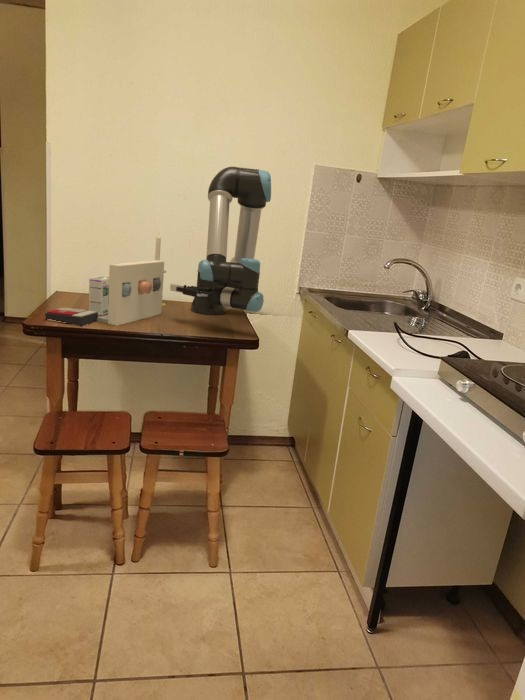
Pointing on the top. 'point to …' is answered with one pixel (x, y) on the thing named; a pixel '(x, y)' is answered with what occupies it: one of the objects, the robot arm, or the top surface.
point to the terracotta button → (144, 287)
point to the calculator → (72, 316)
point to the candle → (158, 253)
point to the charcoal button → (156, 284)
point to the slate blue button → (126, 289)
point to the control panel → (133, 292)
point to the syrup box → (99, 294)
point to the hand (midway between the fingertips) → (171, 287)
